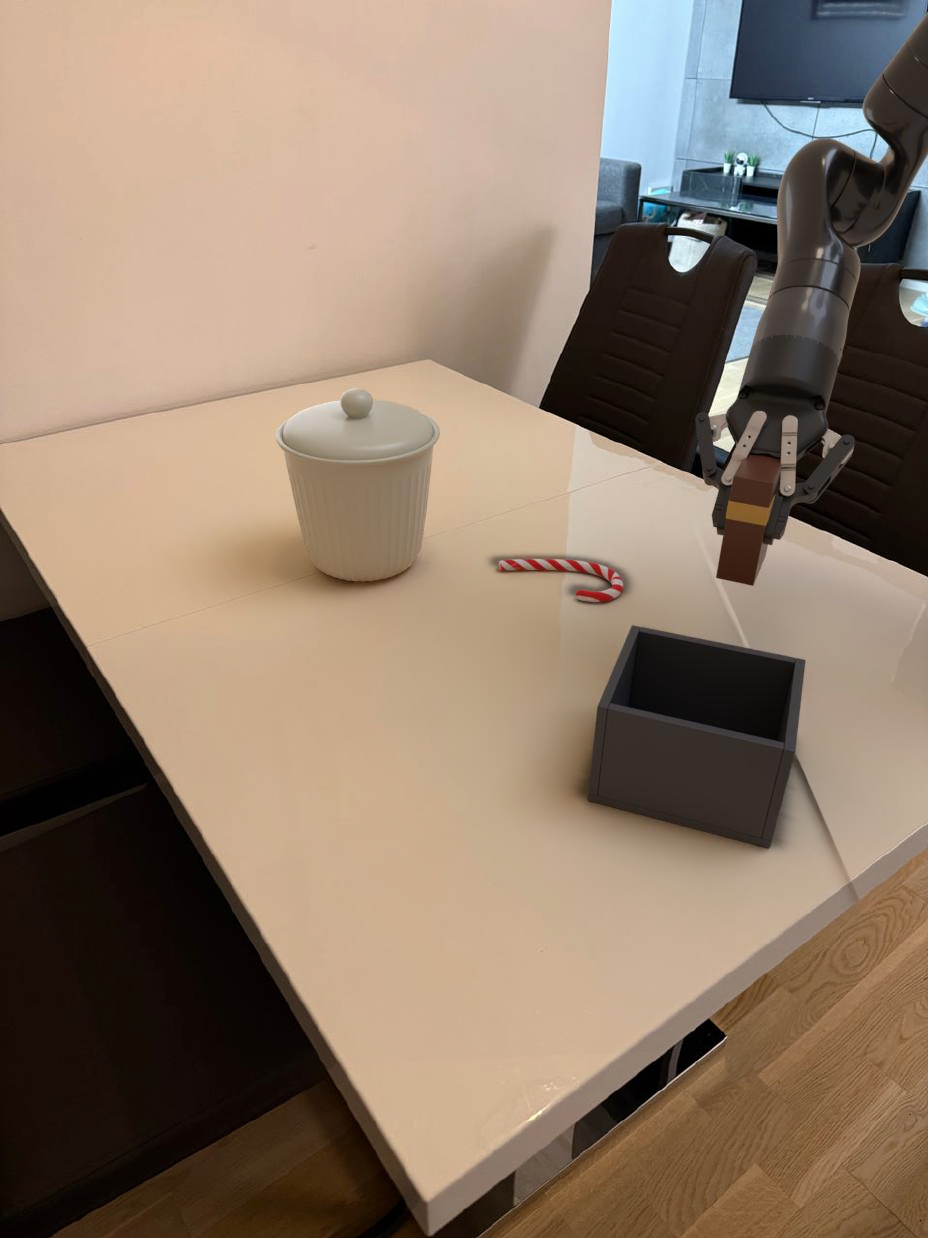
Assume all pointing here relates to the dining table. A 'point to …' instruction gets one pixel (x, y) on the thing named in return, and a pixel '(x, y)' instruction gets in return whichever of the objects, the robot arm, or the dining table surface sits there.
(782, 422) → the robot arm
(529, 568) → the candy cane
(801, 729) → the dining table surface
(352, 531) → the canister
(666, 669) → the waste bin
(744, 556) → the chocolate box
